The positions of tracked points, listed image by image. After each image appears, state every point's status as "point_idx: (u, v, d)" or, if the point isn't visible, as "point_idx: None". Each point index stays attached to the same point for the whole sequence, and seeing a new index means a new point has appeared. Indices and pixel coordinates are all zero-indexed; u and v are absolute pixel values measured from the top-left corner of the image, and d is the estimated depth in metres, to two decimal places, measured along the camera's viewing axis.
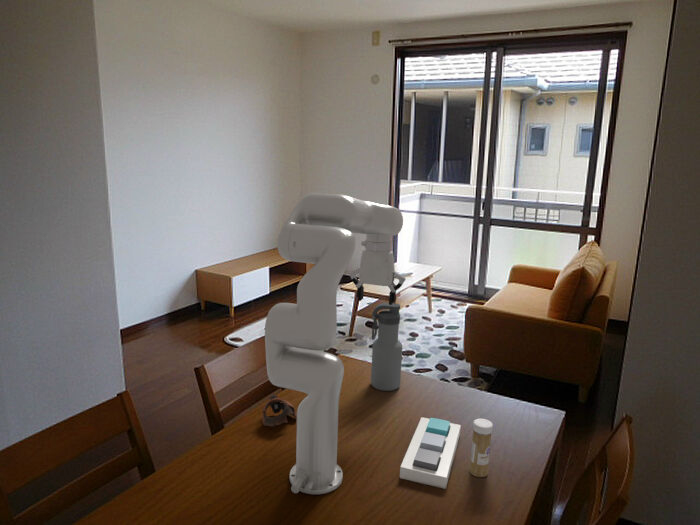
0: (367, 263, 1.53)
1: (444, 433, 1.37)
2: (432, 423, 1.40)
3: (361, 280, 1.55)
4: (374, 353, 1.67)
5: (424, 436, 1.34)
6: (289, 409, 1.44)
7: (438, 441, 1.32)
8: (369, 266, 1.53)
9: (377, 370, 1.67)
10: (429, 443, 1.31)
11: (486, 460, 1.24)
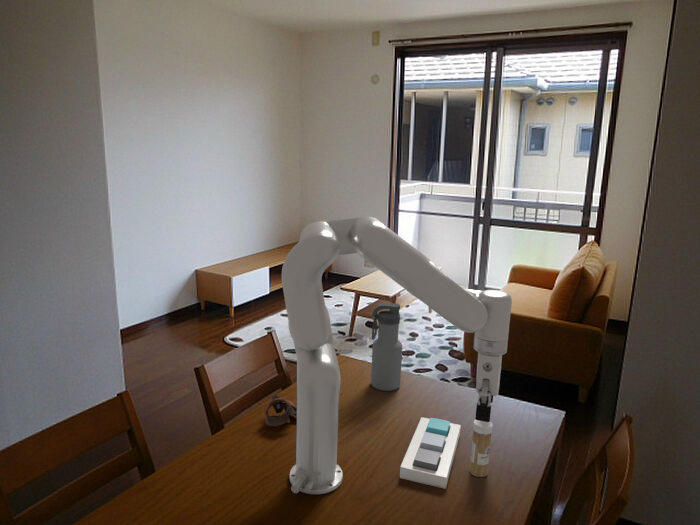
0: (500, 368, 1.18)
1: (444, 433, 1.37)
2: (432, 423, 1.40)
3: (497, 393, 1.18)
4: (374, 353, 1.67)
5: (424, 436, 1.34)
6: (292, 409, 1.44)
7: (438, 441, 1.32)
8: (500, 371, 1.19)
9: (377, 370, 1.67)
10: (429, 443, 1.31)
11: (486, 460, 1.24)
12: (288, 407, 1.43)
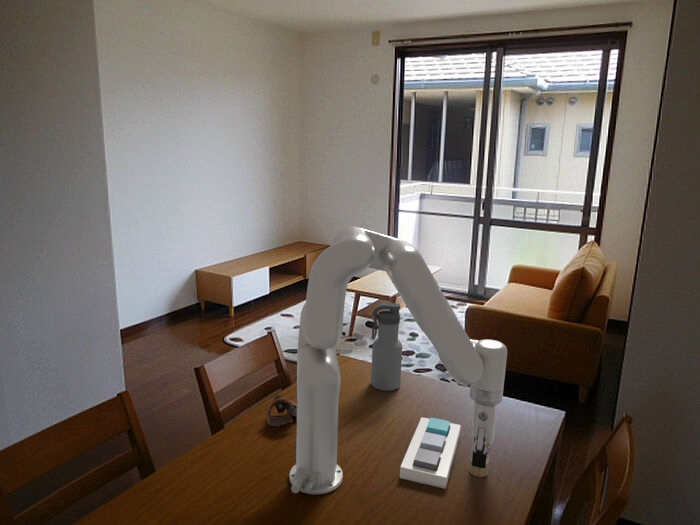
0: (495, 417, 1.20)
1: (444, 433, 1.37)
2: (432, 423, 1.40)
3: (492, 442, 1.20)
4: (374, 353, 1.67)
5: (424, 436, 1.34)
6: (294, 409, 1.44)
7: (438, 441, 1.32)
8: (495, 419, 1.21)
9: (377, 370, 1.67)
10: (429, 443, 1.31)
11: (486, 460, 1.24)
12: (291, 407, 1.43)
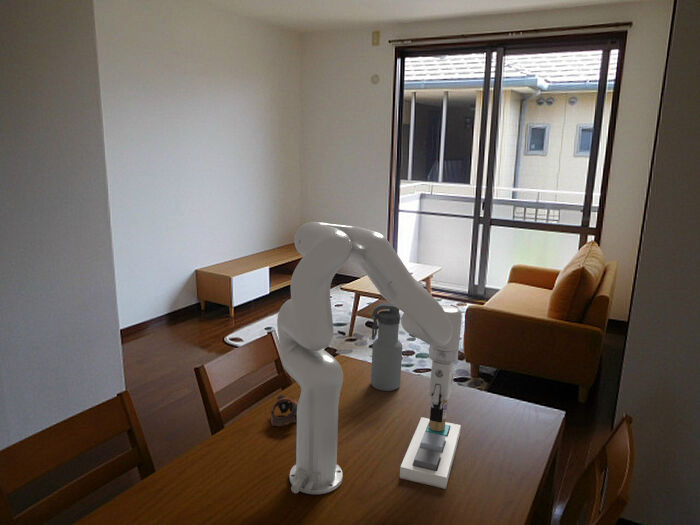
0: (451, 375, 1.33)
1: None
2: None
3: (448, 397, 1.33)
4: (374, 353, 1.67)
5: (424, 436, 1.34)
6: None
7: (438, 441, 1.32)
8: (451, 377, 1.34)
9: (377, 370, 1.67)
10: (429, 443, 1.31)
11: (443, 415, 1.37)
12: (294, 407, 1.43)
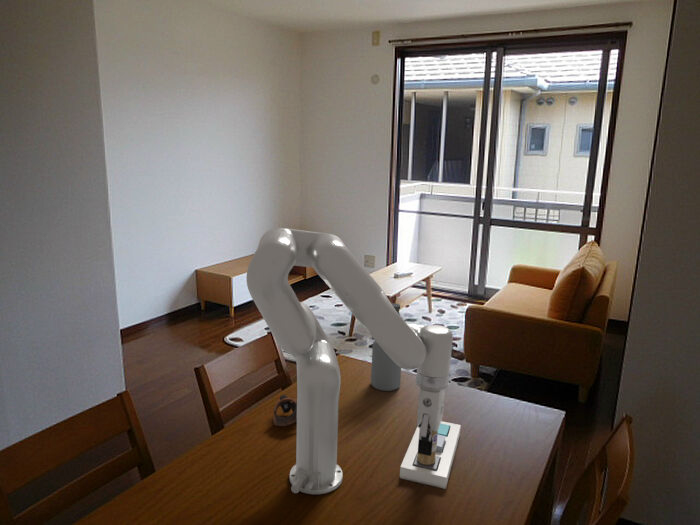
0: (440, 404, 1.19)
1: None
2: None
3: (437, 428, 1.18)
4: (374, 353, 1.67)
5: None
6: None
7: (438, 441, 1.32)
8: (441, 406, 1.20)
9: (377, 370, 1.67)
10: None
11: (433, 447, 1.23)
12: None
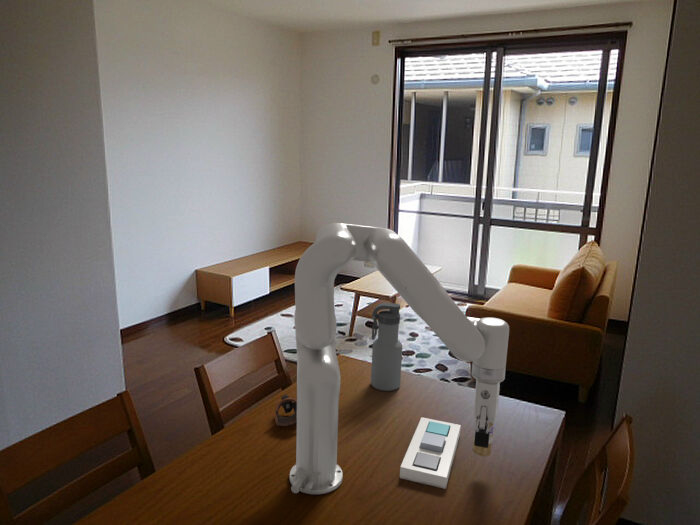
0: (498, 396, 1.19)
1: None
2: (432, 427, 1.40)
3: (495, 420, 1.19)
4: (374, 353, 1.67)
5: (424, 436, 1.34)
6: None
7: (438, 441, 1.32)
8: (498, 398, 1.20)
9: (377, 370, 1.67)
10: (429, 443, 1.31)
11: (489, 439, 1.23)
12: None
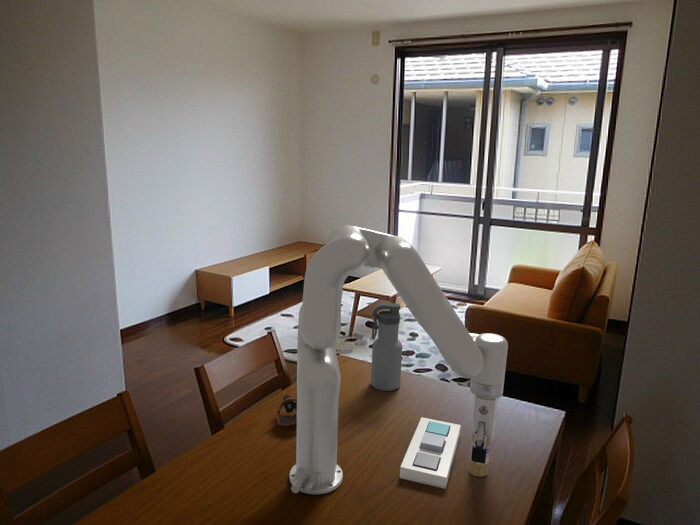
0: (496, 411, 1.20)
1: None
2: (432, 427, 1.40)
3: (493, 436, 1.20)
4: (374, 353, 1.67)
5: (424, 436, 1.34)
6: None
7: (438, 441, 1.32)
8: (496, 413, 1.21)
9: (377, 370, 1.67)
10: (429, 443, 1.31)
11: None
12: None
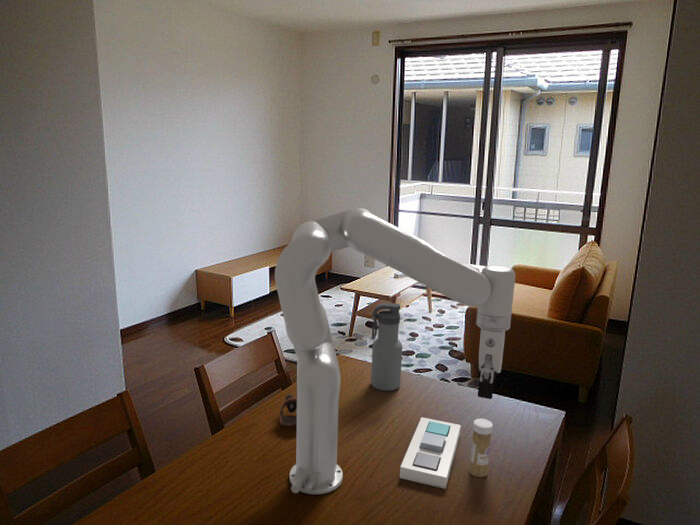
0: (503, 345, 1.17)
1: None
2: (432, 427, 1.40)
3: (500, 370, 1.16)
4: (374, 353, 1.67)
5: (424, 436, 1.34)
6: None
7: (438, 441, 1.32)
8: (503, 347, 1.17)
9: (377, 370, 1.67)
10: (429, 443, 1.31)
11: (486, 460, 1.24)
12: None
